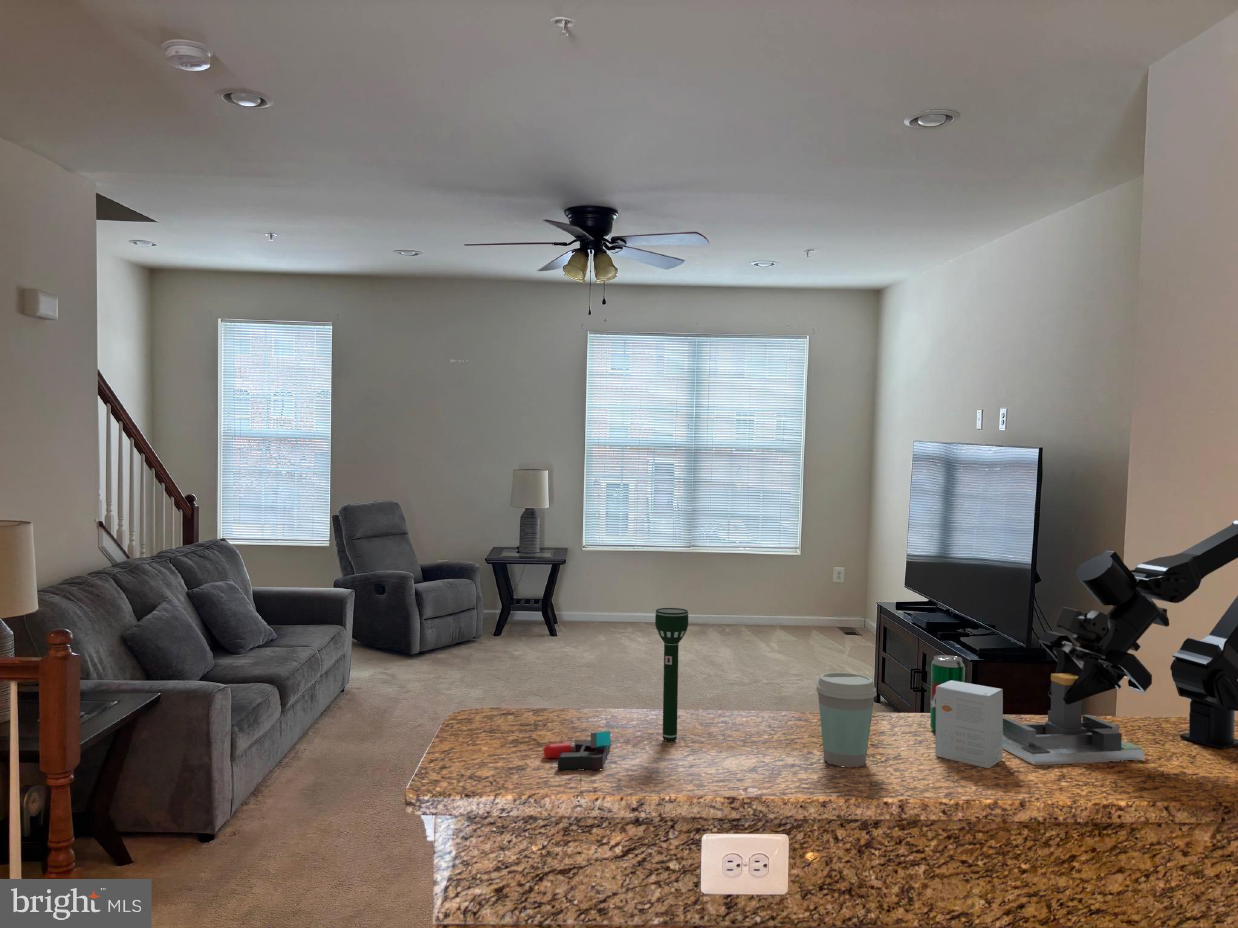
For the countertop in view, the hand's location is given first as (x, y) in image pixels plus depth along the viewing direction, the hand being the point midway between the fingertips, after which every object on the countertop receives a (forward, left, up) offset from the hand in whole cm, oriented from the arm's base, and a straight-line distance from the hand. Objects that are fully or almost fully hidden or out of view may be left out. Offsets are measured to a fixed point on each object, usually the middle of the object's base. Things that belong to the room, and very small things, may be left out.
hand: (1057, 699), depth 134 cm
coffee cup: (+34, -8, -8) cm, 36 cm away
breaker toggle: (-1, 0, -6) cm, 6 cm away
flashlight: (+53, -26, -8) cm, 60 cm away
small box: (+16, -2, -8) cm, 18 cm away
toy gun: (+70, -24, -8) cm, 74 cm away
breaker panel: (0, 0, -7) cm, 8 cm away
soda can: (+9, -13, -8) cm, 18 cm away
